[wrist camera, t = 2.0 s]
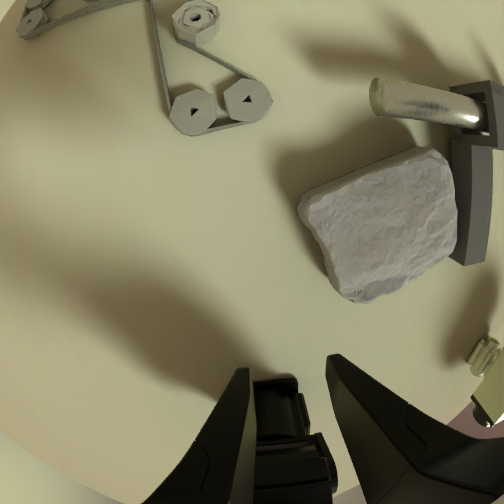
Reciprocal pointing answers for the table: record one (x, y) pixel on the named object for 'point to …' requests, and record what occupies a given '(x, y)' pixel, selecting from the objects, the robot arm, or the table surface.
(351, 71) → the table surface
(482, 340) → the pneumatic valve
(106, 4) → the pulley system
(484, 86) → the collar
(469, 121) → the linear shaft assembly
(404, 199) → the stone block
